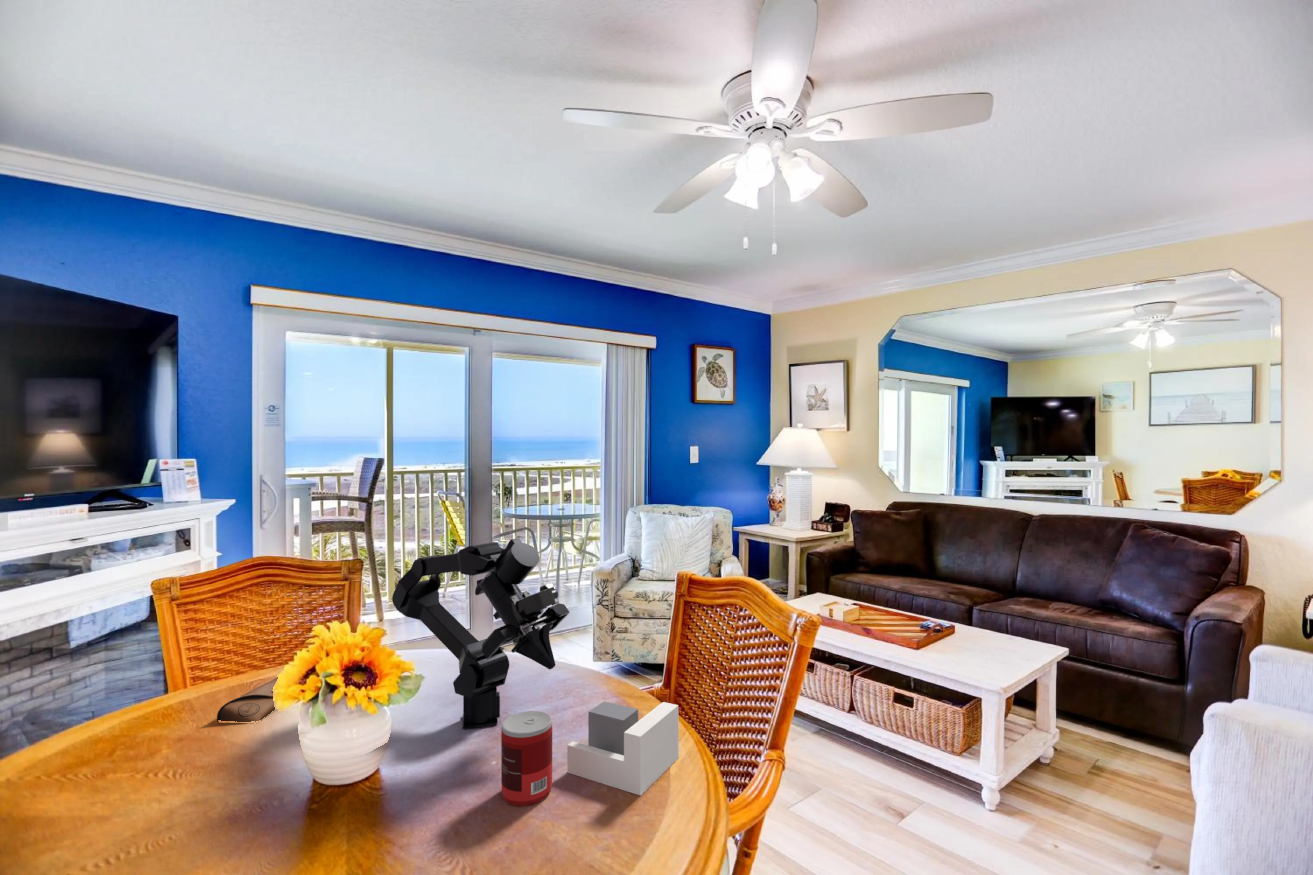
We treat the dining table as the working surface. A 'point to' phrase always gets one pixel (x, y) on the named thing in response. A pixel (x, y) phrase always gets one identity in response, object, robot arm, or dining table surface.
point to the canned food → (526, 758)
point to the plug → (610, 726)
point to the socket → (632, 753)
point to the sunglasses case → (250, 705)
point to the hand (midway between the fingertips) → (552, 667)
